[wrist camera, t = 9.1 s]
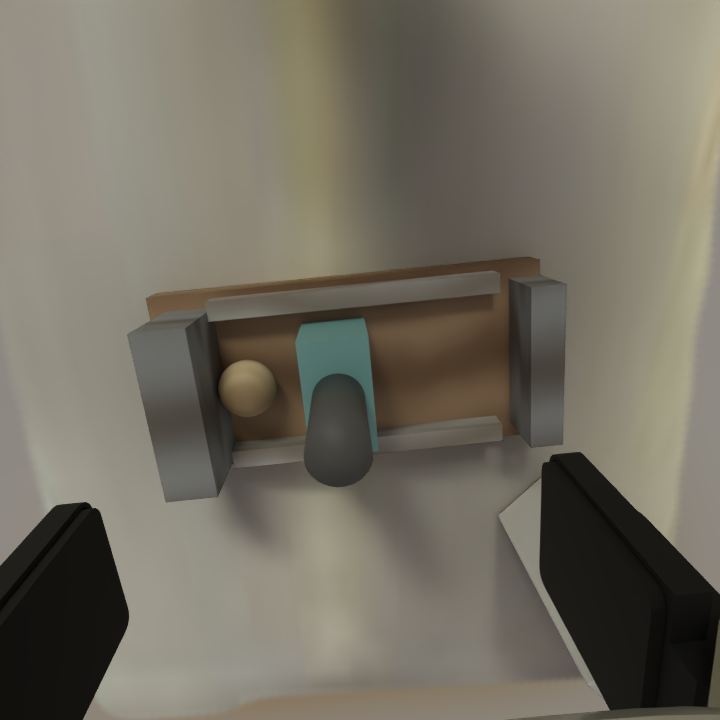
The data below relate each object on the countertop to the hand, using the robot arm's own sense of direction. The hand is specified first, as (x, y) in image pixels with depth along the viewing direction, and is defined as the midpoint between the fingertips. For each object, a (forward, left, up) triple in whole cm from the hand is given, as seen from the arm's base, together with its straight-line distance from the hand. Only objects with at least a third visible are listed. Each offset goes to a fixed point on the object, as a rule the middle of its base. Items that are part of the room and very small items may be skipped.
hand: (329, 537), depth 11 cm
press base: (+4, +1, -25) cm, 25 cm away
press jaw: (+4, 0, -23) cm, 23 cm away
